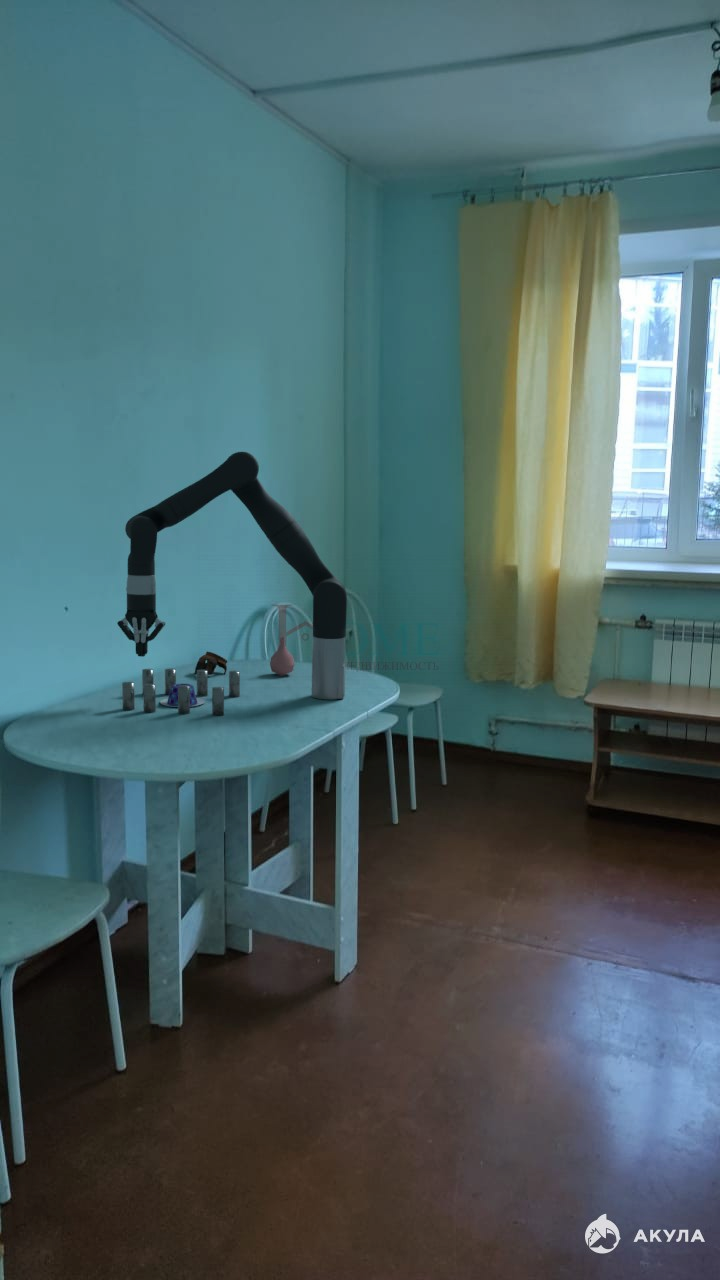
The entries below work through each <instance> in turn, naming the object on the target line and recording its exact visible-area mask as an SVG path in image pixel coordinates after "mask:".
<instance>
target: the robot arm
mask: <svg viewBox="0 0 720 1280" xmlns="http://www.w3.org/2000/svg"><path fill="white" fill-rule="evenodd" d="M259 467H260V465H259V461H258V460H257V458H256V457H255V456H254V455H253V454H251V453H250V452H247V451H236V452H235V453H232V454H231V455H229V456H228V458H226V460H225V461H224V462H223V463H221V464H220V465H219V466H218V467H216V468H215V469H214V470H212V471H211V472H210V473H208V474H206V475H205V476H204V477H202V478H200V479H199V480H196V481H195V482H194V483H192V484H190V485H188V486H186V487H184V488H183V489H181V490H178V491H177V492H175V493H174V494H172V495H170V496H169V497H167V498H165V499H164V500H162V501H161V502H159V503H157V504H156V505H154V506H152V507H149V508H147V509H146V510H145V509H144V510H143V511H141V512H139V513H136V514H135V515H133V516H131V518H129V519H128V521H127V522H126V524H125V528H124V529H125V534H126V536H127V537H128V539H130V551H129V554H128V556H127V580H126V587H125V590H126V612H125V614H124V618H122V619H121V620H119V621H117V622H116V623H117V624H116V625H117V626H118V627H119V629H120V630H121V631H122V632H123V633H124V635H125V637H126V638H127V639H128V640H129V641H133V642H134V643H135V654H136V655H137V657H141V658H143V657H145V656H146V655H147V654H148V647H149V646H148V643H149V642H151V641H153V640H154V639H155V638H156V637H157V636H158V635H159V633H160V632H161V630H163V628H164V627H165V626H166V622H165V621H162V620H160V619H159V617H158V614H157V611H156V610H157V606H156V605H157V604H156V603H157V601H156V600H157V595H156V594H157V593H156V592H157V591H156V590H157V588H156V577H155V575H156V568H155V567H156V563H155V556H156V549H157V541H158V533H159V532H161V531H162V530H164V529H166V528H172V527H173V526H176V525H177V524H179V523H181V522H183V521H184V520H185V519H187V518H189V517H191V516H192V515H194V514H195V513H197V512H198V511H200V510H201V509H202V508H204V507H205V506H206V505H208V504H210V502H212V501H213V500H215V499H216V498H218V497H220V496H221V495H222V494H225V493H226V492H228V491H231V492H233V494H234V495H235V496H236V497H237V498H238V499H239V501H241V503H243V504H242V505H244V506H245V507H246V509H247V510H248V511H249V513H250V515H251V516H252V517H253V519H254V520H255V523H257V525H258V526H259V529H261V532H263V533H264V535H265V537H266V538H267V540H269V542H270V543H271V545H272V546H273V548H274V549H275V550H276V552H277V553H278V554H279V555H280V557H282V558H283V560H284V561H285V562H286V563H287V564H288V565H290V567H291V568H293V570H295V571H296V573H297V574H299V576H300V577H301V578H302V580H303V582H304V583H305V584H306V586H307V588H308V589H309V591H310V593H311V595H312V597H313V598H312V599H313V600H312V648H311V649H312V650H311V651H312V652H311V653H312V659H311V660H312V661H311V666H312V667H311V697H312V698H315V699H318V700H338V699H339V700H341V699H343V700H344V698H345V693H346V666H347V665H346V632H347V607H348V606H347V602H348V601H347V600H348V597H347V596H348V595H347V590H346V587H345V585H343V583H342V582H341V581H340V580H339V579H338V578H337V577H336V576H335V575H334V574H333V573H332V571H330V569H329V568H328V567H327V566H326V565H325V563H324V562H323V561H322V559H321V557H319V555H318V553H317V552H316V550H315V549H316V548H315V547H314V545H313V544H312V542H311V541H310V539H309V537H308V536H307V535H306V533H305V531H304V530H303V528H302V527H301V526H300V524H299V523H298V521H297V520H296V519H295V517H293V515H292V514H291V513H290V512H289V511H288V510H287V509H286V508H285V507H284V506H283V505H281V504H280V503H279V502H278V501H276V500H275V499H274V498H273V497H272V496H271V495H270V494H269V493H268V492H267V490H266V489H265V487H264V486H263V484H262V483H261V481H260V480H259V478H258V474H259V469H260V468H259ZM129 625H130V627H131V628H132V629H131V628H130V627H129ZM153 625H154V630H152V632H151V633H150V629H151V628H152V627H153ZM132 630H133V631H132ZM149 633H150V634H149Z"/></svg>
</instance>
